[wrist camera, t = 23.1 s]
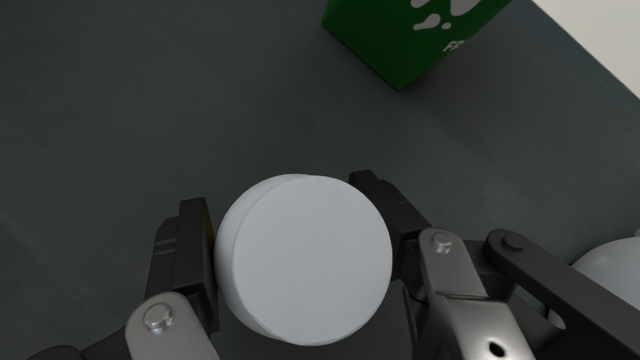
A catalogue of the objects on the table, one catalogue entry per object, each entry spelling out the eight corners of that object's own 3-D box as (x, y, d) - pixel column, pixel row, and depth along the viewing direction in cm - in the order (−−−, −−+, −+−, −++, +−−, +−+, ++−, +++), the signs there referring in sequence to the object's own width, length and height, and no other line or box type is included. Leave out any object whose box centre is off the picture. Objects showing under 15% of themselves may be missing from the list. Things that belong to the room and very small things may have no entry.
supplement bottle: (204, 259, 15) (136, 290, 6) (268, 181, 17) (294, 106, 7) (286, 318, 15) (345, 436, 6) (341, 236, 17) (452, 231, 8)
